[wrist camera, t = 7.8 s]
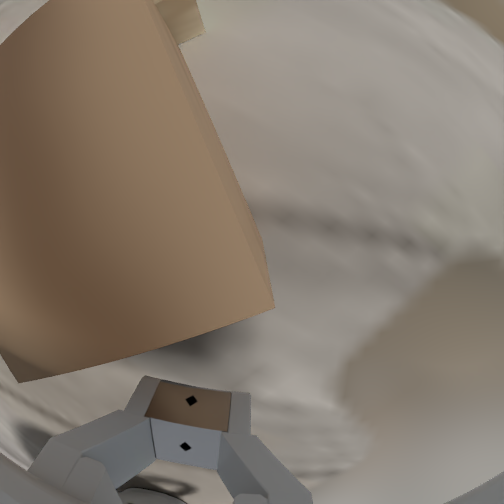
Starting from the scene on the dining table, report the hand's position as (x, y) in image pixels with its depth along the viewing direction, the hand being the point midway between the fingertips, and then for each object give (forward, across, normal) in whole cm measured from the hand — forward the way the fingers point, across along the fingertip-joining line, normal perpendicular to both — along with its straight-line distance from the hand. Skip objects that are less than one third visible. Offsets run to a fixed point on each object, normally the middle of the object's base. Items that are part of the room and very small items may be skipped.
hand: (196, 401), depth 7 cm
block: (+4, +4, -6) cm, 8 cm away
